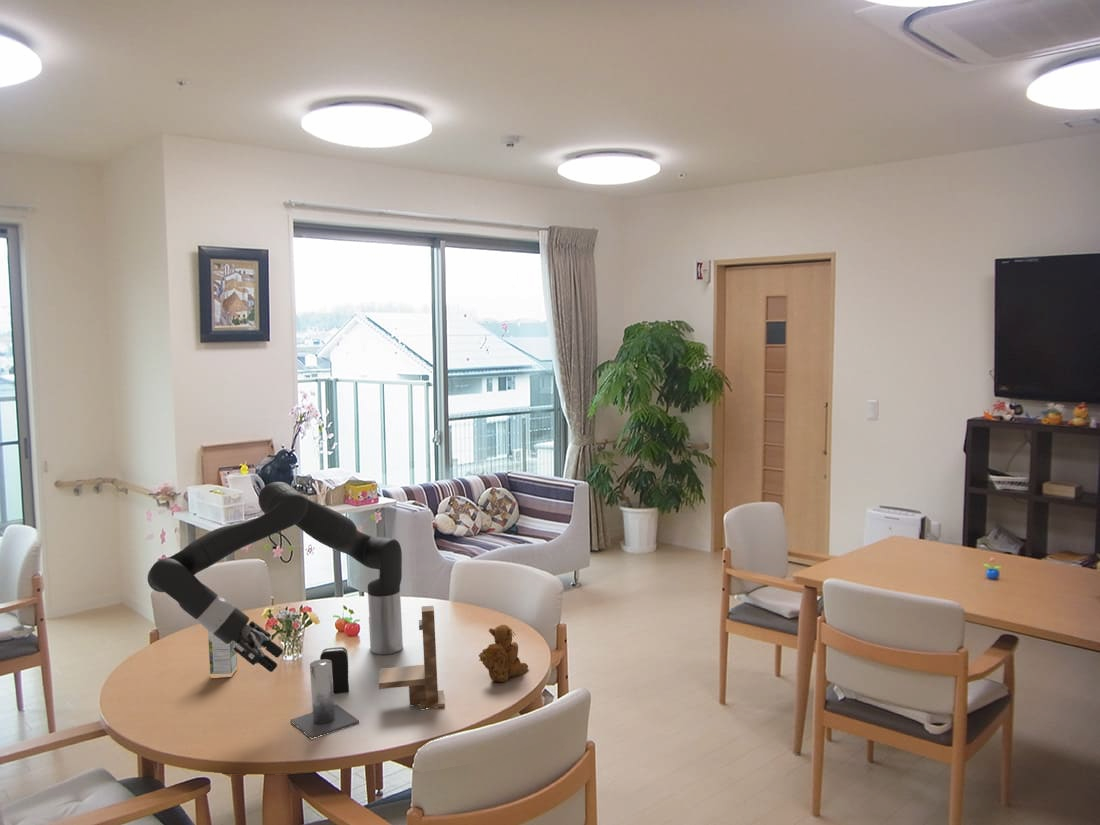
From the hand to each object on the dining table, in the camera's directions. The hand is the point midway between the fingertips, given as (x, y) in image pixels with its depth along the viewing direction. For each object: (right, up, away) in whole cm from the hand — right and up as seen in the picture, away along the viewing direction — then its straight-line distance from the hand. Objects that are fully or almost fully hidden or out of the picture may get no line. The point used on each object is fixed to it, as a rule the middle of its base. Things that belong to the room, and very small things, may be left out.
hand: (277, 661), depth 200 cm
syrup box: (-25, -14, +33) cm, 44 cm away
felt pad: (+11, -15, +2) cm, 19 cm away
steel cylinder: (+10, -15, +2) cm, 18 cm away
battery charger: (+9, -14, +20) cm, 26 cm away
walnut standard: (+30, -14, +11) cm, 35 cm away
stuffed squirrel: (+52, -12, +26) cm, 59 cm away
